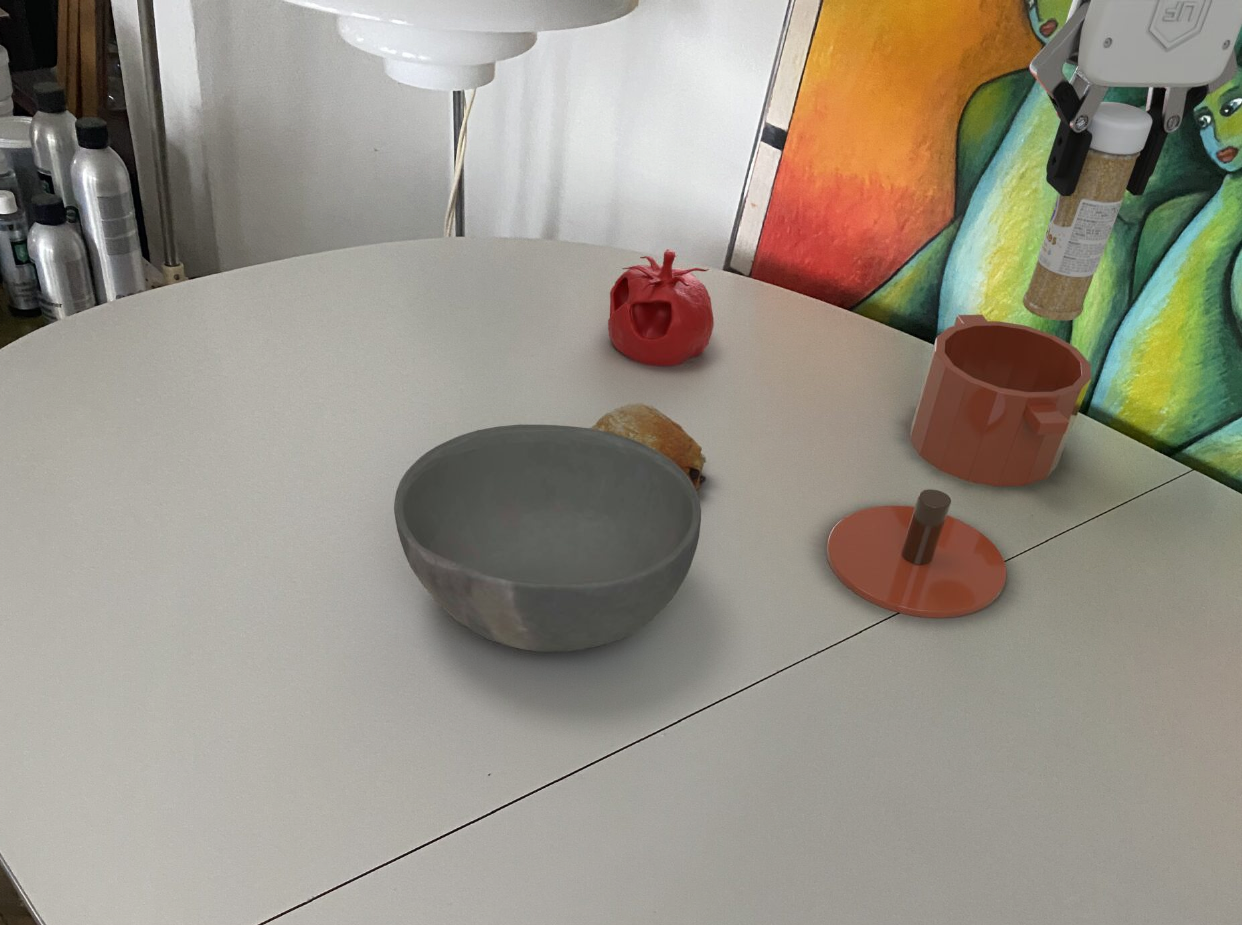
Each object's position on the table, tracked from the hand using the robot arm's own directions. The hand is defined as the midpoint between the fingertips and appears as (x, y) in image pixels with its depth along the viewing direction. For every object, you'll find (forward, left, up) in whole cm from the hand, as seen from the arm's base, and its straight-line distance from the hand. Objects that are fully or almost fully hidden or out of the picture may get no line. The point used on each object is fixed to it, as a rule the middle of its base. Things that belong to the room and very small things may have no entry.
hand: (1094, 185), depth 85 cm
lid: (+11, +12, -22) cm, 28 cm away
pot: (-1, -4, -23) cm, 23 cm away
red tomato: (+24, -23, -23) cm, 41 cm away
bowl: (+40, +15, -23) cm, 49 cm away
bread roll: (+30, -1, -23) cm, 38 cm away
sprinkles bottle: (0, 0, -9) cm, 9 cm away
